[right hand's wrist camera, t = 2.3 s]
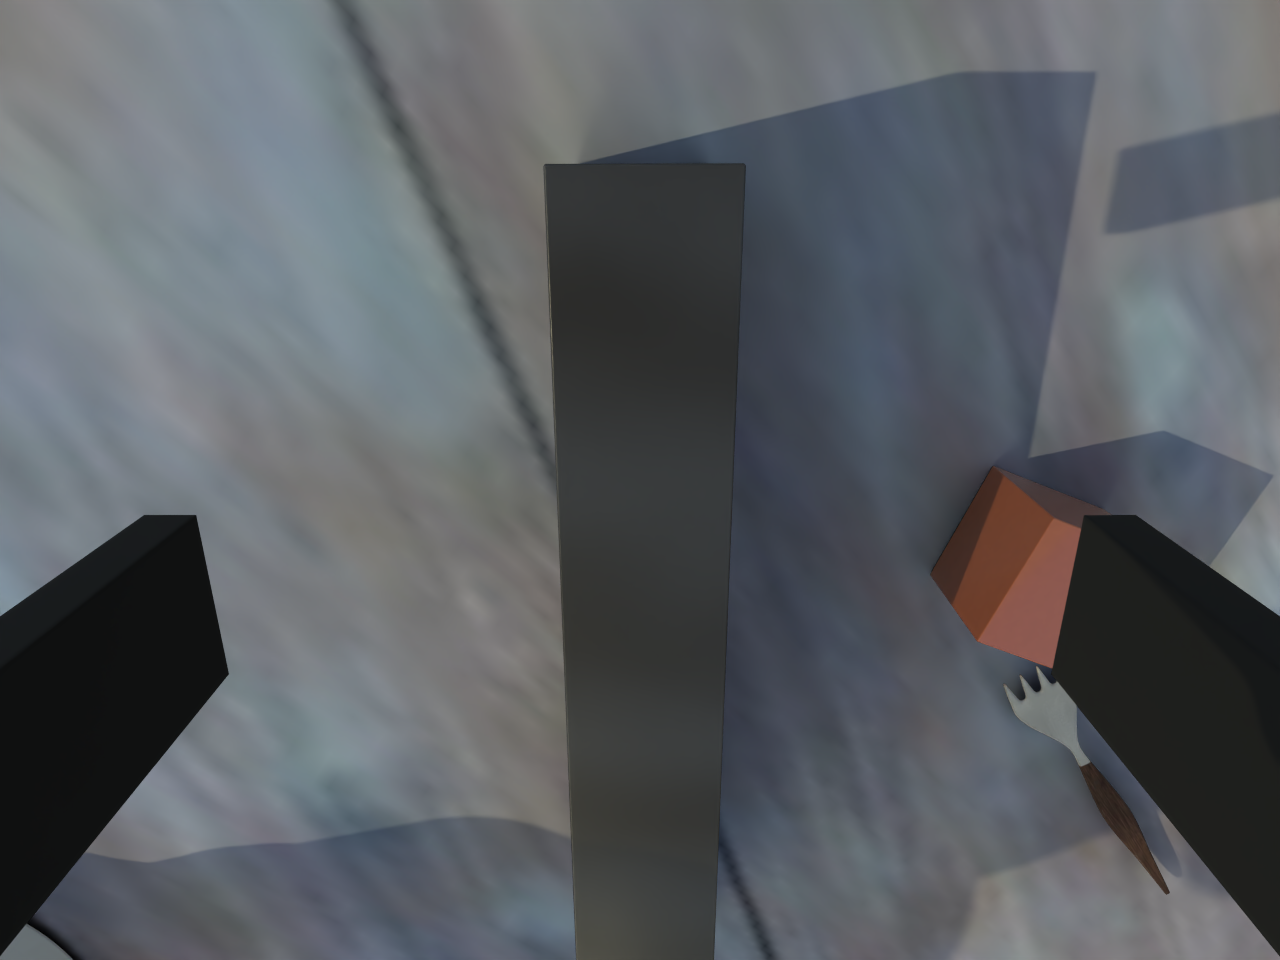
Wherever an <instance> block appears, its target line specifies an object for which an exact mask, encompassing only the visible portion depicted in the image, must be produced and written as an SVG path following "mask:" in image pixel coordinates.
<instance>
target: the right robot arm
mask: <svg viewBox="0 0 1280 960" xmlns="http://www.w3.org/2000/svg"><path fill="white" fill-rule="evenodd" d="M228 674H229V672H228V668H227V663H226V658H225V653H224V648H223V643H222V638H221V634H220V629H219V624H218V619H217V614H216V609H215V604H214V600H213V595H212V590H211V585H210V580H209V575H208V571H207V566H206V561H205V556H204V551H203V546H202V541H201V537H200V532H199V527H198V522H197V517H196V515H144V516H142V517H141V518H139V519H138V520H137V521H135V522H134V523H132V524H131V525H130V526H128V527H127V528H125V529H124V530H122V531H121V532H120V533H118V534H117V535H115V536H114V537H112V538H111V539H110V540H108V541H107V542H105V543H104V544H102V545H101V546H100V547H98V548H97V549H95V550H94V551H93V552H91V553H90V554H88V555H87V556H85V557H84V558H83V559H81V560H80V561H78V562H77V563H75V564H74V565H73V566H71V567H70V568H68V569H67V570H66V571H64V572H63V573H61V574H60V575H58V576H57V577H56V578H54V579H53V580H51V581H50V582H48V583H47V584H46V585H44V586H43V587H41V588H40V589H38V590H37V591H36V592H34V593H33V594H31V595H30V596H29V597H27V598H26V599H24V600H23V601H21V602H20V603H19V604H17V605H16V606H14V607H13V608H11V609H10V610H9V611H7V612H6V613H4V614H3V615H2V616H0V956H1V955H2V953H3V952H4V951H5V950H6V949H7V947H8V946H9V945H10V944H11V942H12V941H13V940H14V939H15V937H16V936H17V935H18V934H19V932H20V931H21V930H22V929H23V928H24V926H25V925H26V924H27V923H28V921H29V920H30V919H31V918H32V916H33V915H34V914H35V913H36V912H37V910H38V909H39V908H40V907H41V905H42V904H43V903H44V902H45V900H46V899H47V898H48V897H49V895H50V894H51V893H52V892H53V891H54V889H55V888H56V887H57V886H58V884H59V883H60V882H61V881H62V879H63V878H64V877H65V876H66V874H67V873H68V872H69V871H70V870H71V868H72V867H73V866H74V865H75V863H76V862H77V861H78V860H79V858H80V857H81V856H82V855H83V853H84V852H85V851H86V850H87V849H88V847H89V846H90V845H91V844H92V842H93V841H94V840H95V839H96V837H97V836H98V835H99V834H100V833H101V831H102V830H103V829H104V828H105V826H106V825H107V824H108V823H109V821H110V820H111V819H112V818H113V816H114V815H115V814H116V813H117V812H118V810H119V809H120V808H121V807H122V805H123V804H124V803H125V802H126V800H127V799H128V798H129V797H130V795H131V794H132V793H133V792H134V791H135V789H136V788H137V787H138V786H139V784H140V783H141V782H142V781H143V779H144V778H145V777H146V776H147V774H148V773H149V772H150V771H151V770H152V768H153V767H154V766H155V765H156V763H157V762H158V761H159V760H160V758H161V757H162V756H163V755H164V754H165V752H166V751H167V750H168V749H169V747H170V746H171V745H172V744H173V742H174V741H175V740H176V739H177V737H178V736H179V735H180V734H181V733H182V731H183V730H184V729H185V728H186V726H187V725H188V724H189V723H190V721H191V720H192V719H193V718H194V716H195V715H196V714H197V713H198V712H199V710H200V709H201V708H202V707H203V705H204V704H205V703H206V702H207V700H208V699H209V698H210V697H211V695H212V694H213V693H214V692H215V691H216V689H217V688H218V687H219V686H220V684H221V683H222V682H223V681H224V679H225V678H226V677H227V676H228ZM1051 674H1052V676H1053V677H1054V678H1055V679H1056V681H1057V682H1058V683H1059V684H1060V686H1061V687H1062V688H1063V689H1064V691H1065V692H1066V693H1067V694H1068V695H1069V697H1070V698H1071V699H1072V700H1073V702H1074V703H1075V704H1076V705H1077V707H1078V708H1079V709H1080V710H1081V712H1082V713H1083V714H1084V715H1085V716H1086V718H1087V719H1088V720H1089V721H1090V723H1091V724H1092V725H1093V726H1094V728H1095V729H1096V730H1097V731H1098V733H1099V734H1100V735H1101V736H1102V737H1103V739H1104V740H1105V741H1106V742H1107V744H1108V745H1109V746H1110V747H1111V749H1112V750H1113V751H1114V752H1115V754H1116V755H1117V756H1118V757H1119V758H1120V760H1121V761H1122V762H1123V763H1124V765H1125V766H1126V767H1127V768H1128V770H1129V771H1130V772H1131V773H1132V774H1133V776H1134V777H1135V778H1136V779H1137V781H1138V782H1139V783H1140V784H1141V786H1142V787H1143V788H1144V789H1145V791H1146V792H1147V793H1148V794H1149V795H1150V797H1151V798H1152V799H1153V800H1154V802H1155V803H1156V804H1157V805H1158V807H1159V808H1160V809H1161V810H1162V812H1163V813H1164V814H1165V815H1166V816H1167V818H1168V819H1169V820H1170V821H1171V823H1172V824H1173V825H1174V826H1175V828H1176V829H1177V830H1178V831H1179V833H1180V834H1181V835H1182V836H1183V837H1184V839H1185V840H1186V841H1187V842H1188V844H1189V845H1190V846H1191V847H1192V849H1193V850H1194V851H1195V852H1196V853H1197V855H1198V856H1199V857H1200V858H1201V860H1202V861H1203V862H1204V863H1205V865H1206V866H1207V867H1208V868H1209V870H1210V871H1211V872H1212V873H1213V874H1214V876H1215V877H1216V878H1217V879H1218V881H1219V882H1220V883H1221V884H1222V886H1223V887H1224V888H1225V889H1226V891H1227V892H1228V893H1229V894H1230V895H1231V897H1232V898H1233V899H1234V900H1235V902H1236V903H1237V904H1238V905H1239V907H1240V908H1241V909H1242V910H1243V912H1244V913H1245V914H1246V915H1247V916H1248V918H1249V919H1250V920H1251V921H1252V923H1253V924H1254V925H1255V926H1256V928H1257V929H1258V930H1259V931H1260V932H1261V934H1262V935H1263V936H1264V937H1265V939H1266V940H1267V941H1268V942H1269V944H1270V945H1271V946H1272V947H1273V949H1274V950H1275V951H1276V952H1277V953H1278V955H1279V956H1280V616H1278V615H1277V614H1276V613H1274V612H1273V611H1271V610H1270V609H1269V608H1267V607H1266V606H1264V605H1263V604H1261V603H1260V602H1259V601H1257V600H1256V599H1254V598H1253V597H1251V596H1250V595H1249V594H1247V593H1246V592H1244V591H1243V590H1242V589H1240V588H1239V587H1237V586H1236V585H1234V584H1233V583H1232V582H1230V581H1229V580H1227V579H1226V578H1224V577H1223V576H1222V575H1220V574H1219V573H1217V572H1216V571H1214V570H1213V569H1212V568H1210V567H1209V566H1207V565H1206V564H1205V563H1203V562H1202V561H1200V560H1199V559H1197V558H1196V557H1195V556H1193V555H1192V554H1190V553H1189V552H1187V551H1186V550H1185V549H1183V548H1182V547H1180V546H1179V545H1178V544H1176V543H1175V542H1173V541H1172V540H1170V539H1169V538H1168V537H1166V536H1165V535H1163V534H1162V533H1160V532H1159V531H1158V530H1156V529H1155V528H1153V527H1152V526H1150V525H1149V524H1148V523H1146V522H1145V521H1143V520H1142V519H1141V518H1139V517H1138V516H1136V515H1084V517H1083V522H1082V527H1081V532H1080V537H1079V541H1078V546H1077V551H1076V556H1075V561H1074V566H1073V571H1072V575H1071V580H1070V585H1069V590H1068V595H1067V600H1066V604H1065V609H1064V614H1063V619H1062V624H1061V629H1060V634H1059V638H1058V643H1057V648H1056V653H1055V658H1054V663H1053V668H1052V672H1051Z"/></svg>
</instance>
